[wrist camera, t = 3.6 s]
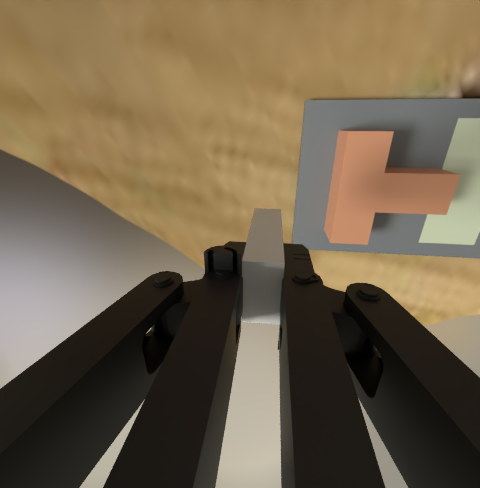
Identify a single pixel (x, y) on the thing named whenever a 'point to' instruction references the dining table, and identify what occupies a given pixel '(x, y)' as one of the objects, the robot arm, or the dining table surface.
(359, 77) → the dining table surface
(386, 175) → the t block
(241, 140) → the dining table surface
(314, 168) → the plate
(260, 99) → the dining table surface
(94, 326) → the robot arm
